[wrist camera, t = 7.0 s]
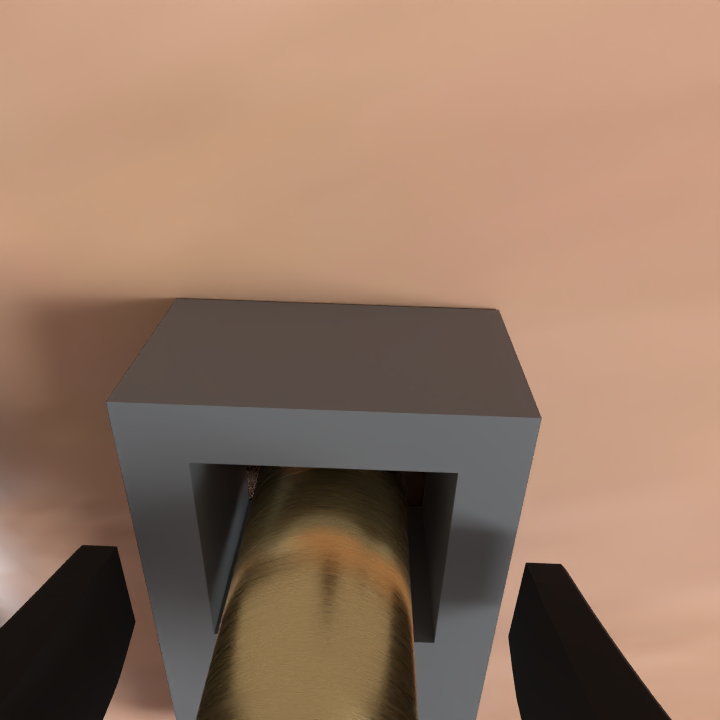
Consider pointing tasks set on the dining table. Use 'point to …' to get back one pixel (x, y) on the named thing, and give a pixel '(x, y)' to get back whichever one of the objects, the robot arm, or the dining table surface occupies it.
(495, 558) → the block
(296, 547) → the brass pin
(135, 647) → the dining table surface
